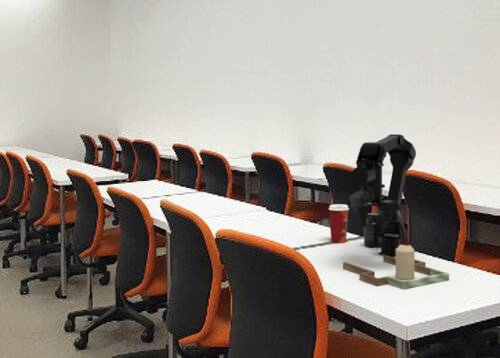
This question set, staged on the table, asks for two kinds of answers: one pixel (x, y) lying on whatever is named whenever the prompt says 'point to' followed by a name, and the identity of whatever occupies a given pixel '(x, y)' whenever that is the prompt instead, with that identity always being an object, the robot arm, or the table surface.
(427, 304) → the table surface
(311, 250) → the table surface
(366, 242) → the supplement bottle
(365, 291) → the table surface
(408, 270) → the candle
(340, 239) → the paper cup
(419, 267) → the trap lane
